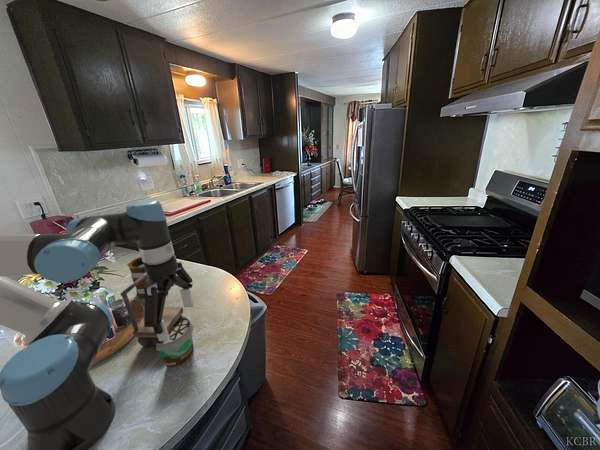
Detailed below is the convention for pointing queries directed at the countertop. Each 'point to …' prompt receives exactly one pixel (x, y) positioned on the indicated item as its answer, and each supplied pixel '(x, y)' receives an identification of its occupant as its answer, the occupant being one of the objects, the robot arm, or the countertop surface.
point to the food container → (177, 344)
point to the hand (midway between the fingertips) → (177, 321)
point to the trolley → (143, 333)
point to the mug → (137, 272)
